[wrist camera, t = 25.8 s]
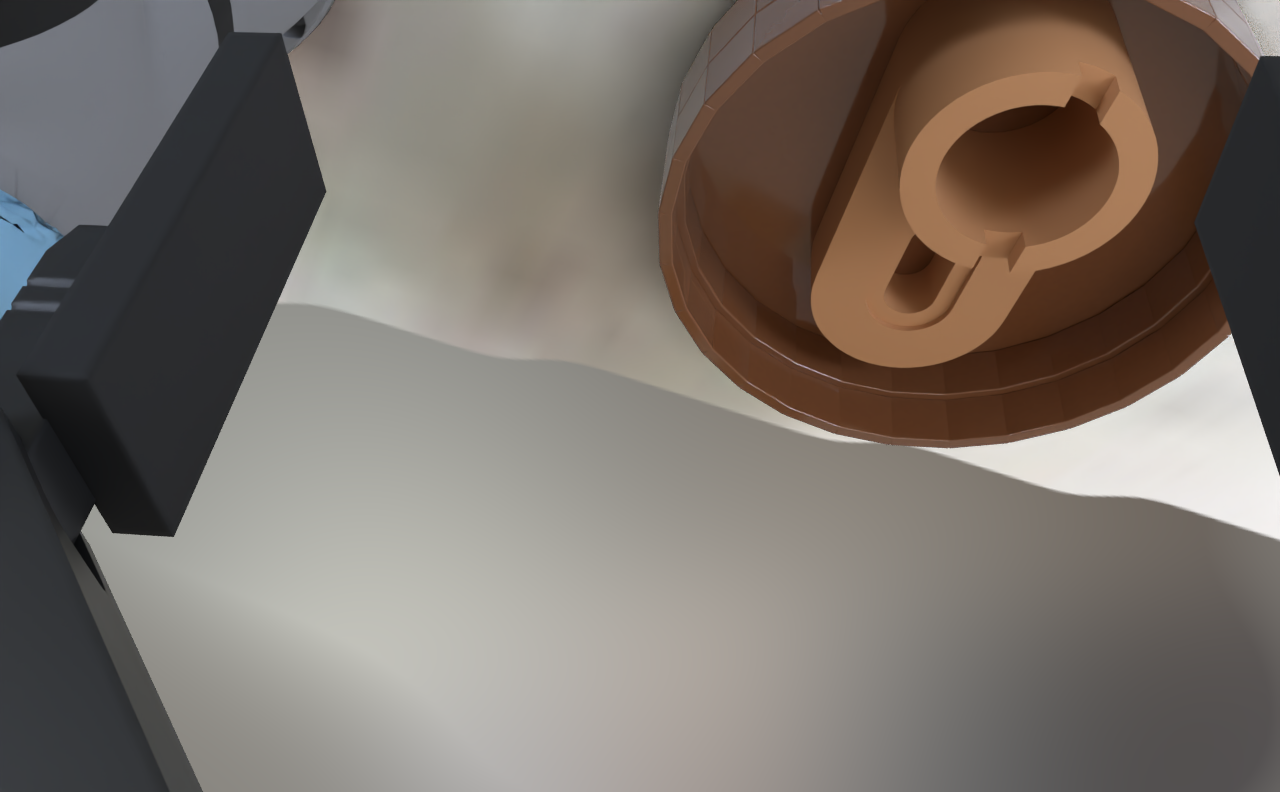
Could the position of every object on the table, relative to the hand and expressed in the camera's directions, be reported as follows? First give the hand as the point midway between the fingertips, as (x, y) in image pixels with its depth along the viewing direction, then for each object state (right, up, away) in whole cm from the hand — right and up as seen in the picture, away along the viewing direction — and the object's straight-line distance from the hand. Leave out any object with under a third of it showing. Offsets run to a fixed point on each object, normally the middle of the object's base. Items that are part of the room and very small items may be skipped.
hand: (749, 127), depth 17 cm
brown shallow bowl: (+11, +6, +32) cm, 34 cm away
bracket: (+11, +6, +32) cm, 34 cm away
